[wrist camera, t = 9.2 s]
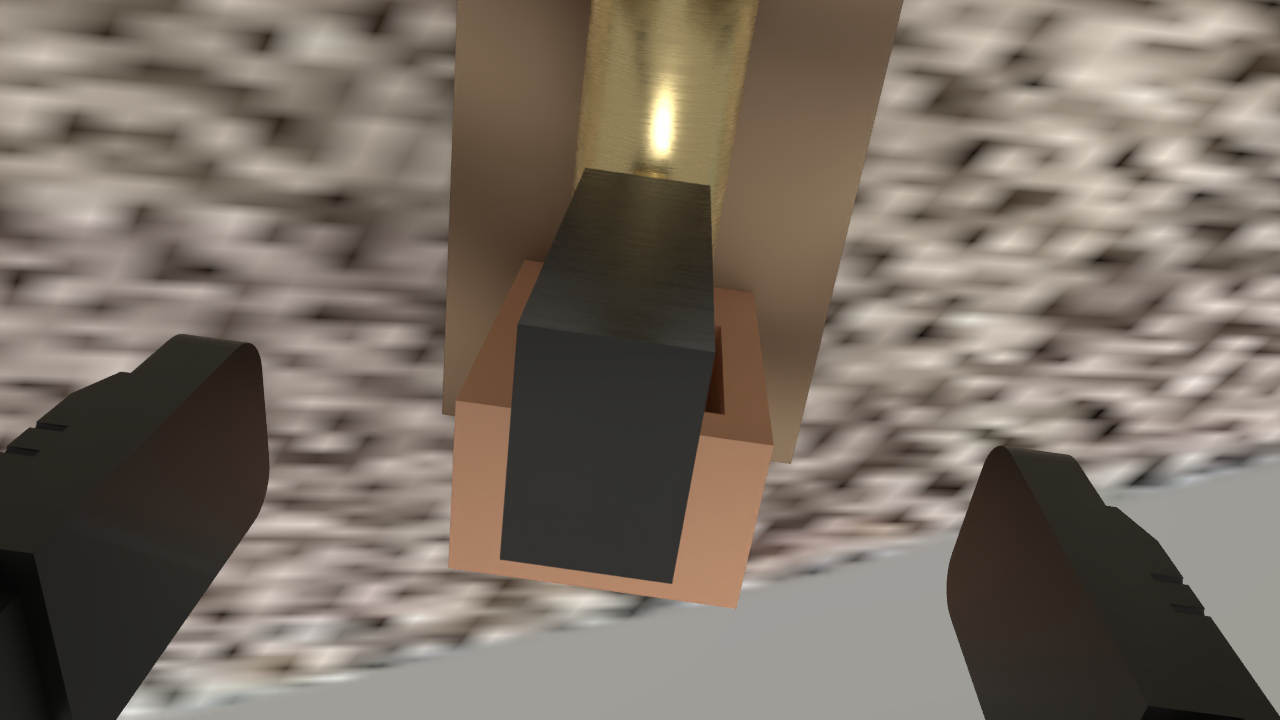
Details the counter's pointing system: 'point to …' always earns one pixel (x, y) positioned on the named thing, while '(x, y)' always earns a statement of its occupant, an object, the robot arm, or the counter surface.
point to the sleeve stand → (756, 187)
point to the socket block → (719, 481)
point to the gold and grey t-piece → (628, 295)
